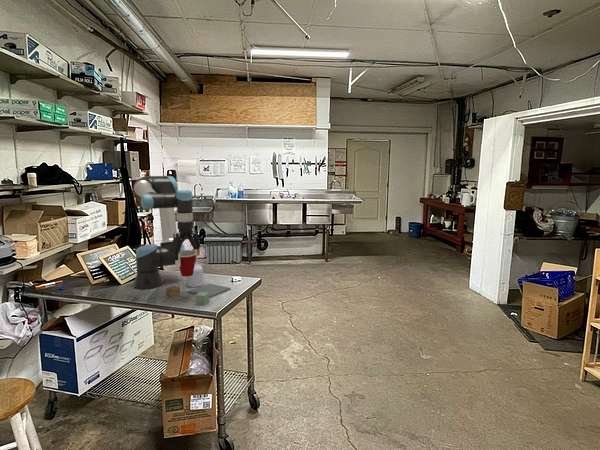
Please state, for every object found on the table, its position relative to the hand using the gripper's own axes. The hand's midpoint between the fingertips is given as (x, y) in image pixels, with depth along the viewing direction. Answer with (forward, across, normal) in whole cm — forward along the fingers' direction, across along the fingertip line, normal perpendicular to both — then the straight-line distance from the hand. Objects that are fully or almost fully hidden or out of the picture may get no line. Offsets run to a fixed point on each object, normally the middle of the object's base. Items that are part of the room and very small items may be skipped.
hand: (186, 263), depth 189 cm
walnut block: (+19, 0, +11) cm, 22 cm away
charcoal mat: (+19, +16, 0) cm, 25 cm away
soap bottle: (+19, +20, +15) cm, 31 cm away
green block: (+19, 0, -10) cm, 22 cm away
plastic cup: (+6, 0, 0) cm, 6 cm away
